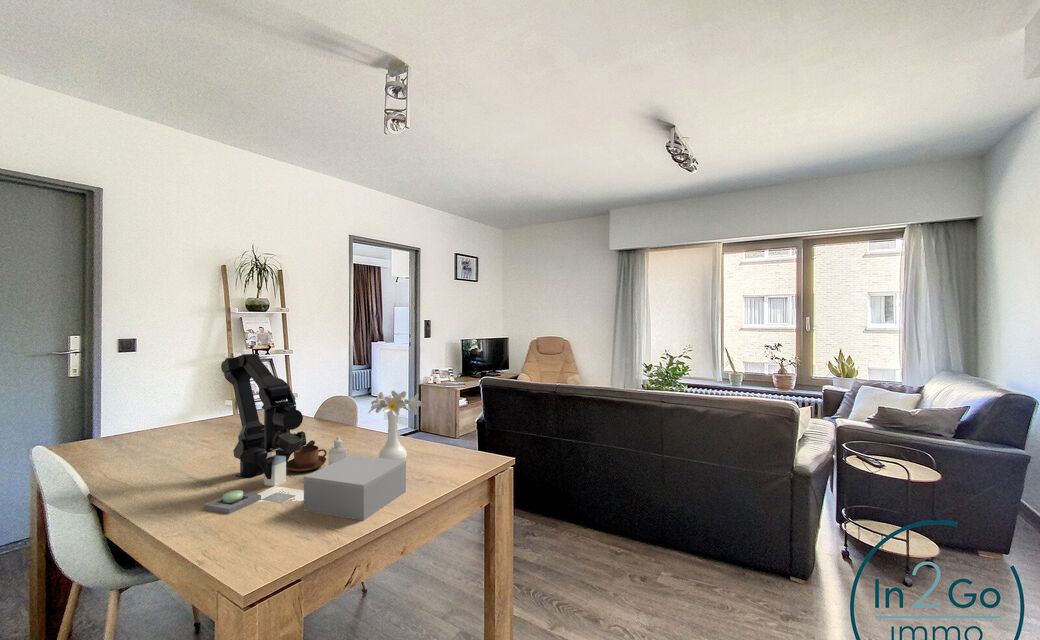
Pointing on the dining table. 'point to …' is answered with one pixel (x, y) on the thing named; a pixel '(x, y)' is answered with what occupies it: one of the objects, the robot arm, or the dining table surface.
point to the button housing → (226, 508)
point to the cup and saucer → (306, 459)
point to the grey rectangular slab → (354, 486)
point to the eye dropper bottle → (337, 452)
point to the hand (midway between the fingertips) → (275, 476)
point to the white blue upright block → (277, 471)
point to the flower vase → (394, 421)
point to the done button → (233, 496)
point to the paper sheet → (281, 494)
